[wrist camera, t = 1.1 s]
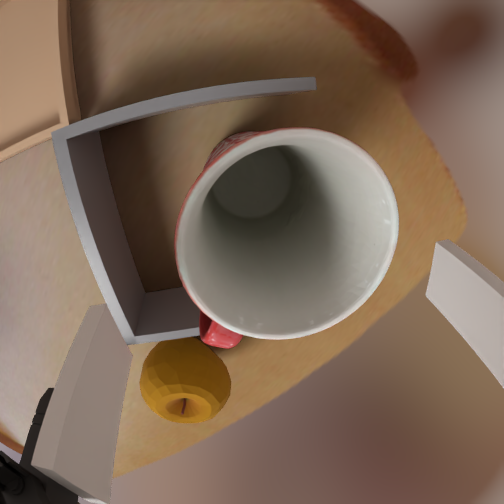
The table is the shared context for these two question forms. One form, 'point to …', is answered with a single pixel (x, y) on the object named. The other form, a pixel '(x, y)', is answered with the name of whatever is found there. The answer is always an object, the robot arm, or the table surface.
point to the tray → (35, 73)
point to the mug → (284, 234)
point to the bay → (108, 219)
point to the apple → (184, 381)
